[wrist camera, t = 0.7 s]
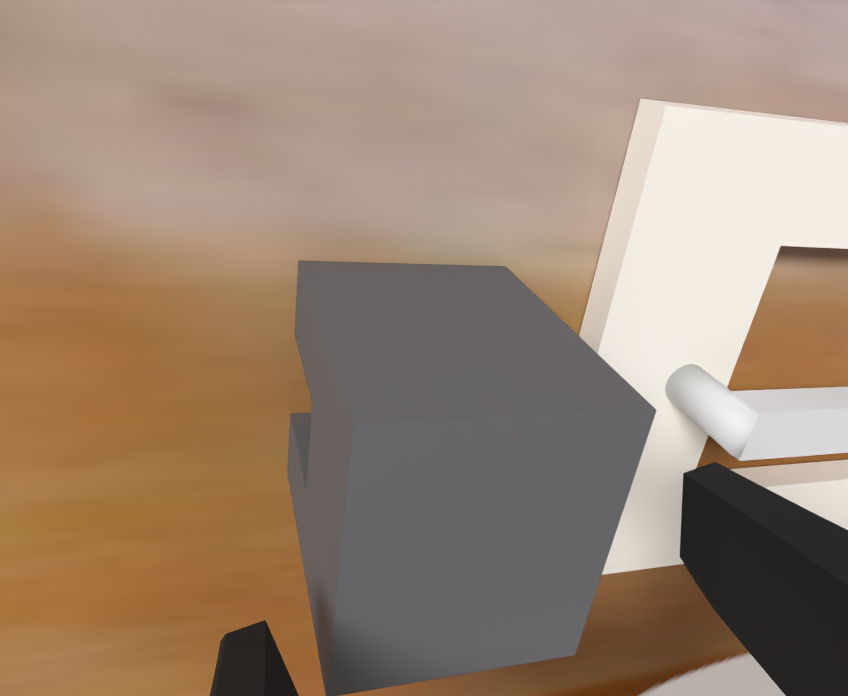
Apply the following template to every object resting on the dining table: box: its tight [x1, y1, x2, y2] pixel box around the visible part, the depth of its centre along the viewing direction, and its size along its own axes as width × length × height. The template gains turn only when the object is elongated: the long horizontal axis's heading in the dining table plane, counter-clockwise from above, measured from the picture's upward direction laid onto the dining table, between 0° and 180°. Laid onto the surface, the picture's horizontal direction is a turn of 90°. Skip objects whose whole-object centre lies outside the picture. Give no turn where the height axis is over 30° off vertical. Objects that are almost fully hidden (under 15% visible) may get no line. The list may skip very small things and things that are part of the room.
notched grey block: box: [287, 261, 657, 696], centre depth 14 cm, size 6×5×6 cm
